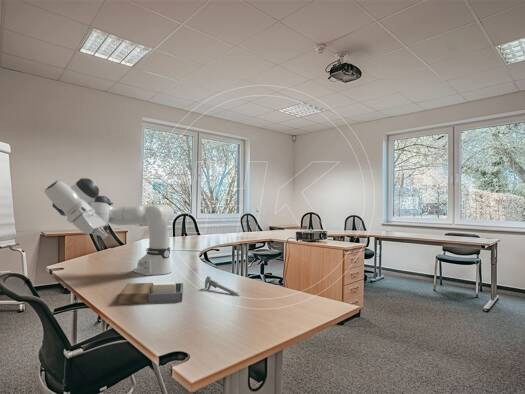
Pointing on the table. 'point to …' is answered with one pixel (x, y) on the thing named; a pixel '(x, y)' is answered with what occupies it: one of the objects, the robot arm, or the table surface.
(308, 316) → the table surface
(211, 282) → the caliper
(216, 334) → the table surface
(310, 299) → the table surface
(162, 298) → the bin
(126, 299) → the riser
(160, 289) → the block
